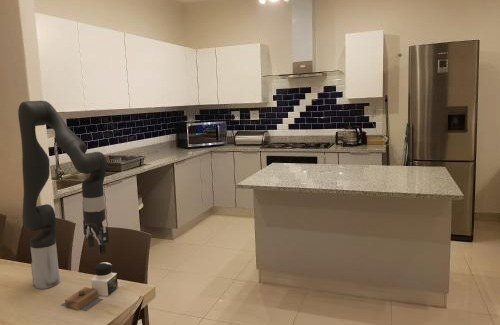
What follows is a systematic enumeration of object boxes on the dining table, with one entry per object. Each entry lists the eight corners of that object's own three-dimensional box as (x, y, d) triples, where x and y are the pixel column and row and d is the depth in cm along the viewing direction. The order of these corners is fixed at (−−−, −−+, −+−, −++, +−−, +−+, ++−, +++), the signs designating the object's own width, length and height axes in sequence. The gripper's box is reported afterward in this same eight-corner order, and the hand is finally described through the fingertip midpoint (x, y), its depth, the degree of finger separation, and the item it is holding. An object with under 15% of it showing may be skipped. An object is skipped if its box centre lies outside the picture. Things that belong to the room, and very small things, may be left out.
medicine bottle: (108, 298, 153) (106, 269, 151) (91, 296, 154) (89, 267, 152) (118, 289, 160) (116, 261, 158) (102, 288, 161) (99, 260, 159)
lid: (65, 307, 145) (64, 297, 144) (85, 294, 154) (84, 284, 153) (78, 310, 143) (77, 300, 142) (98, 297, 152) (97, 287, 151)
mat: (60, 307, 147) (60, 305, 146) (79, 296, 155) (78, 293, 155) (86, 313, 142) (86, 311, 142) (103, 301, 151) (103, 299, 151)
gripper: (74, 205, 145) (77, 247, 148) (93, 214, 136) (96, 259, 139) (94, 201, 151) (97, 242, 154) (113, 209, 141) (116, 252, 144)
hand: (96, 250), depth 146 cm, fingers open, 8 cm apart
